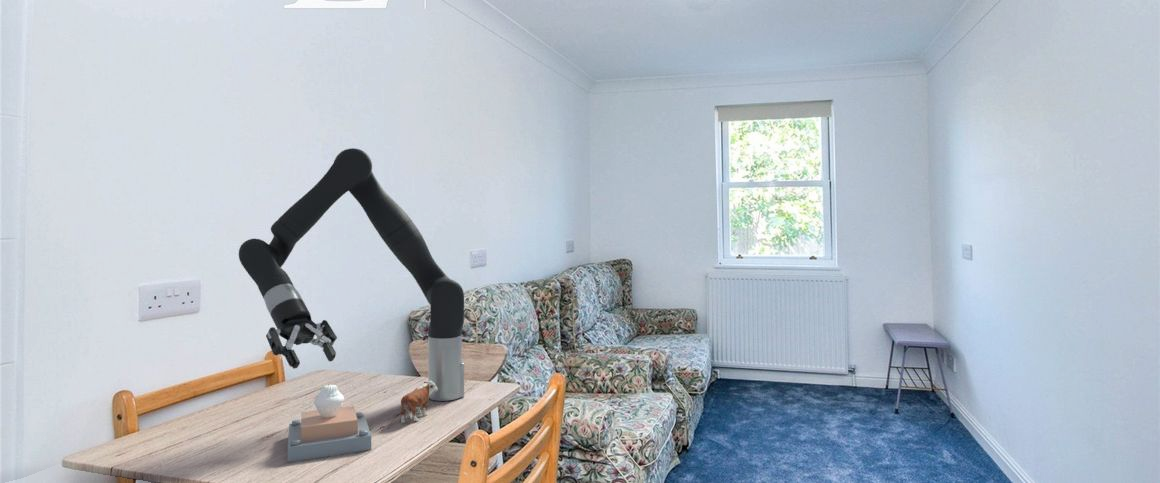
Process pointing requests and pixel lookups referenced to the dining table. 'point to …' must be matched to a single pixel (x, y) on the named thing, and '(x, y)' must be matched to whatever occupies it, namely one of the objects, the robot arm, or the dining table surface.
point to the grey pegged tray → (328, 435)
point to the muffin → (329, 401)
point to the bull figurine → (417, 400)
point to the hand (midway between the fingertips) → (315, 362)
